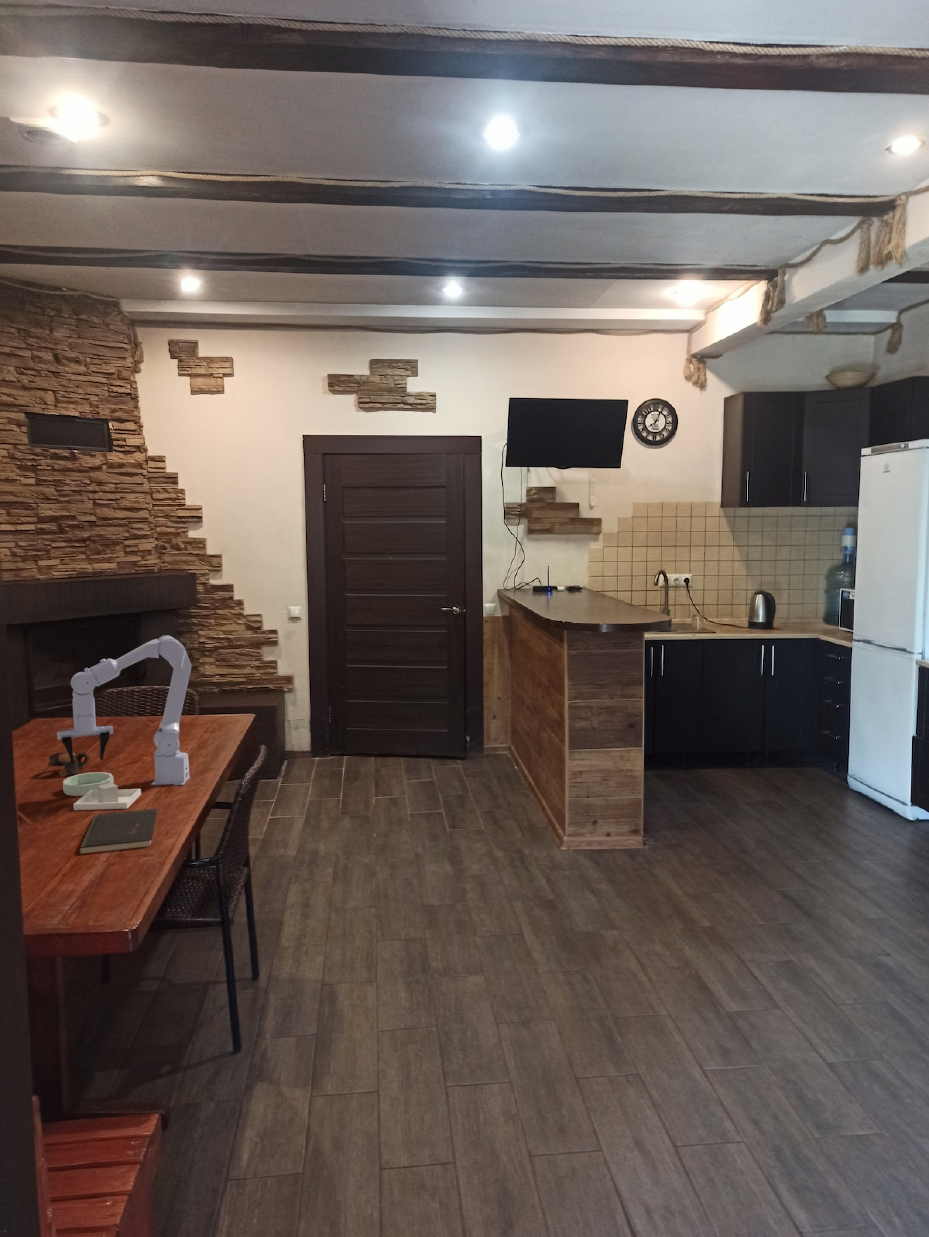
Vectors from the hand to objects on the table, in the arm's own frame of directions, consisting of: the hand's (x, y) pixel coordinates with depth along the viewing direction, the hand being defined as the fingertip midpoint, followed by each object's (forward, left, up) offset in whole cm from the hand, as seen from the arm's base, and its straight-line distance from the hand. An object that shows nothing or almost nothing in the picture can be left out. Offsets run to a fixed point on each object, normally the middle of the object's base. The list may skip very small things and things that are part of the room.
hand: (87, 760), depth 233 cm
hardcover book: (-20, +33, -10) cm, 40 cm away
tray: (-9, +10, -10) cm, 17 cm away
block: (-9, +10, -9) cm, 16 cm away
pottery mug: (+14, -22, -10) cm, 28 cm away
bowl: (+1, -3, -10) cm, 10 cm away
